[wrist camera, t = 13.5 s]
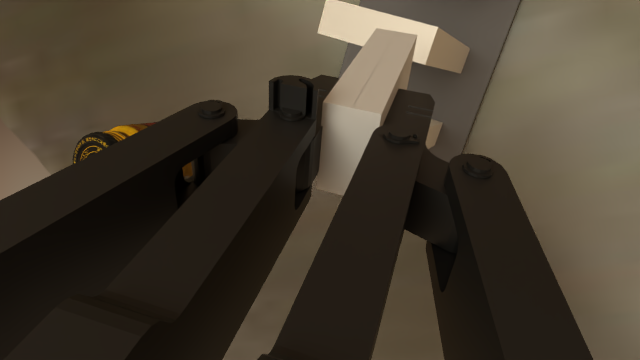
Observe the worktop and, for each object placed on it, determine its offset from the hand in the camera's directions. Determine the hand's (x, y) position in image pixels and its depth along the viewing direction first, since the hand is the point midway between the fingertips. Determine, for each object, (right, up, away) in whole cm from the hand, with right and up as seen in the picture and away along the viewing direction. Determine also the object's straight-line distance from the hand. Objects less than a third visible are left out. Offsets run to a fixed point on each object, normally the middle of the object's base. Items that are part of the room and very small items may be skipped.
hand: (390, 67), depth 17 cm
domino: (+5, +5, +17) cm, 18 cm away
